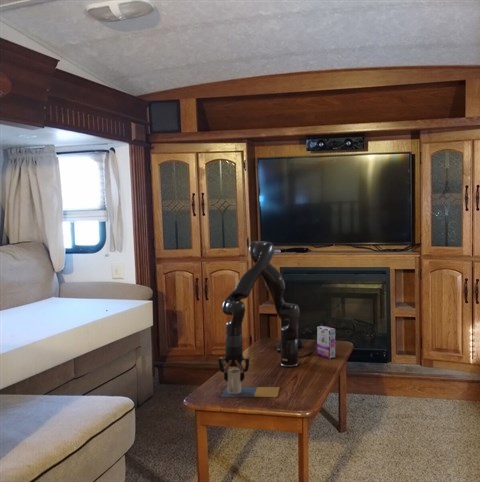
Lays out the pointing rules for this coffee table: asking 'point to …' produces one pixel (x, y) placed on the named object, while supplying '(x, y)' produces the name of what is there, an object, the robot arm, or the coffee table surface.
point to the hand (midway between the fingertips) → (234, 380)
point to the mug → (234, 381)
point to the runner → (254, 392)
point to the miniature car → (280, 344)
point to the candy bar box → (326, 341)
